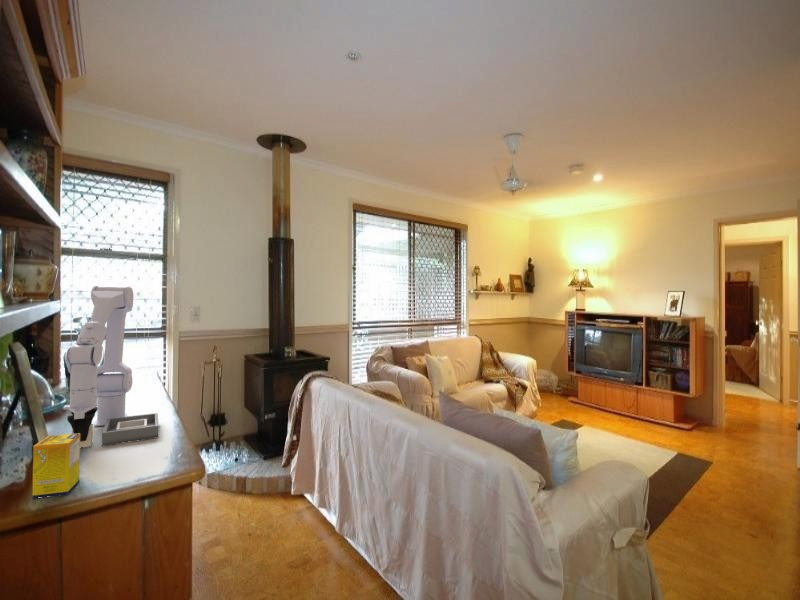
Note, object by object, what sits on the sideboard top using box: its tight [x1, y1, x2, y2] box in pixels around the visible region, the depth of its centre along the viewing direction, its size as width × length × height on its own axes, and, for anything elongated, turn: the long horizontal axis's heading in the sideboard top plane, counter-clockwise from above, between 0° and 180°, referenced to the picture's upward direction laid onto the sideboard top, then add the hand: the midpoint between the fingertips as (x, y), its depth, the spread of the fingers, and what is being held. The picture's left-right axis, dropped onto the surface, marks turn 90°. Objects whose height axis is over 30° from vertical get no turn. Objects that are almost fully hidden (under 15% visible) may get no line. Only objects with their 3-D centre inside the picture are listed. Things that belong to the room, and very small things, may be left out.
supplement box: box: [32, 433, 81, 499], centre depth 81 cm, size 6×6×11 cm
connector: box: [71, 423, 94, 449], centre depth 105 cm, size 4×4×7 cm
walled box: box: [101, 412, 160, 447], centre depth 115 cm, size 14×13×4 cm
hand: (82, 438), depth 105 cm, fingers closed on connector, 4 cm apart
